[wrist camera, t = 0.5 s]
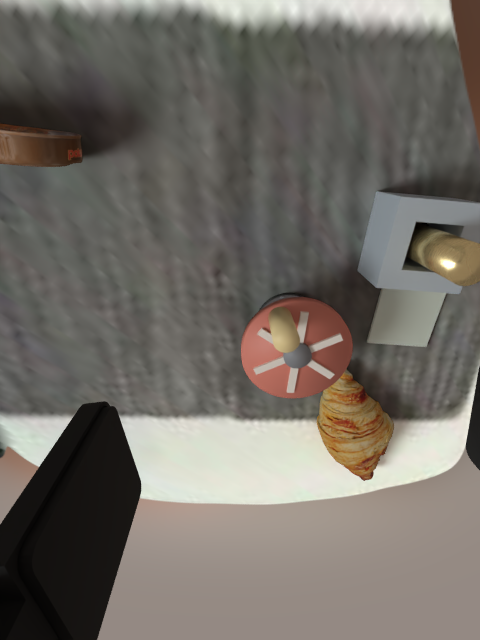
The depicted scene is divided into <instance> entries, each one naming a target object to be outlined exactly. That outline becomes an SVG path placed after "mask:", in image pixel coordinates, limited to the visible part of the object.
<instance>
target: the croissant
mask: <svg viewBox="0 0 480 640" xmlns="http://www.w3.org/2000/svg"><path fill="white" fill-rule="evenodd" d="M319 413H320V415H319V416H318V417H317V425H318V429H319V432H320V435H321V437H322V440H323V442H324V444H325V446H326V448H327V450H328V451H329V453H330V454H331V456H332V457H333V458H334V459H335V460H336V461H337V462H339V463H340V464H342V465H344V467H346V468H347V469H349V470H350V471H351V472H352V473H353V474H355V475H357V476H359V477H360V478H361V479H362V480H363V481H365V480H369V479H371V478H372V477H373V470H374V469H376V466H377V464H378V461H379V460H380V459H379V458H380V456H381V455H384V454H385V451H386V449H387V445H388V443H389V440H390V439H391V437H392V433H393V430H394V424H393V421H392V420H391V418H390V417H389V415H388V414H387V413H385V412H384V411H382V408H381V407H380V405H379V403H378V401H375V400H373V399H372V398H371V397H370V396H368V395H367V393H366V392H365V390H364V388H363V386H362V385H360V384H359V383H358V382H357V381H355V380H353V376H352V374H351V373H349V372H348V371H347V369H346V370H345V372H344V373H343V375H342V376H341V377H340V378H339V379H338V380H337V381H336V382H335V383H334V384H333V385H331V386H330V387H328V388H327V389H325V390H323V394H322V397H321V401H320V412H319Z"/></svg>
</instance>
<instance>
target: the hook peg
mask: <svg viewBox="0 0 480 640" xmlns="http://www.w3.org/2000/svg"><path fill="white" fill-rule="evenodd" d="M406 257H408V258H410V259H412V260H414V261H415V262H417V263H419V264H421V265H422V266H424V267H426V268H428V269H430V270H431V271H433V272H435V273H437V274H438V275H440V276H442V277H444V278H446V279H447V280H449V281H451V282H453V283H454V284H456V285H459V286H469V285H472V284H475V283H477V282H479V281H480V244H479V243H476V242H473V241H470V240H467V239H464V238H461V237H459V236H456V235H453V234H450V233H447V232H444V231H441V230H438V229H435V228H432V227H429V226H426V225H423V224H421V223H418V222H416V224H415V227H414V230H413V234H412V237H411V240H410V244H409V247H408V250H407V254H406Z"/></svg>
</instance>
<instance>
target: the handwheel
mask: <svg viewBox="0 0 480 640" xmlns="http://www.w3.org/2000/svg"><path fill="white" fill-rule="evenodd" d="M352 350H353V343H352V337H351V333H350V331H349V329H348V327H347V325H346V324H345V322H344V321H343V319H342V318H341V316H340V315H339V314H338V313H337V312H336V310H334V309H333V308H332V307H331V306H329V305H327V304H326V303H324V302H322V301H319V300H316V299H313V298H307V297H290V298H285V299H281V300H278V301H275V302H273V303H271V304H269V305H267V306H266V307H264V308H263V309H261V310H260V311H259V312H258V313H257V314H255V316H254V317H253V318H252V319H251V320H250V322H249V323H248V325H247V327H246V329H245V331H244V333H243V337H242V342H241V358H242V364H243V367H244V370H245V372H246V374H247V375H248V377H249V379H250V380H251V381H252V382H253V383H254V384H255V385H256V386H257V387H258V388H260V389H262V390H263V391H265V392H267V393H269V394H272V395H274V396H278V397H283V398H302V397H307V396H311V395H314V394H317V393H319V392H322V391H323V390H325V389H327V388H328V387H330V386H331V385H333V384H334V383H335V382H336V381H337V380H338V379H339V378H340V377H341V376H342V375H343V373H344V372H345V370H346V369H347V367H348V365H349V363H350V360H351V356H352Z"/></svg>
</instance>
